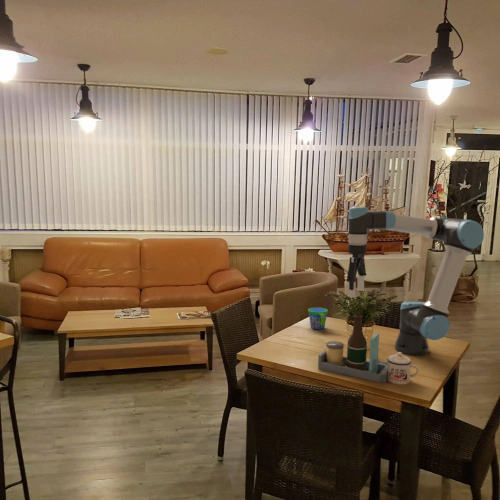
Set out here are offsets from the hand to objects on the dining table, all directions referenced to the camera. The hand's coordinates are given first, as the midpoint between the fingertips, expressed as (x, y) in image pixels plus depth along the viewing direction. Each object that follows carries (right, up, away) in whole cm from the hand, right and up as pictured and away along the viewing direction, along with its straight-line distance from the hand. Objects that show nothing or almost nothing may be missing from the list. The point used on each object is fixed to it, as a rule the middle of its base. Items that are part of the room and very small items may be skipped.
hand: (356, 293), depth 196 cm
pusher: (+8, -33, -8) cm, 35 cm away
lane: (-1, -32, -3) cm, 32 cm away
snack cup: (-8, -24, +57) cm, 62 cm away
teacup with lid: (+15, -34, -12) cm, 39 cm away
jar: (-9, -31, +2) cm, 33 cm away
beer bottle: (-1, -32, -3) cm, 32 cm away
